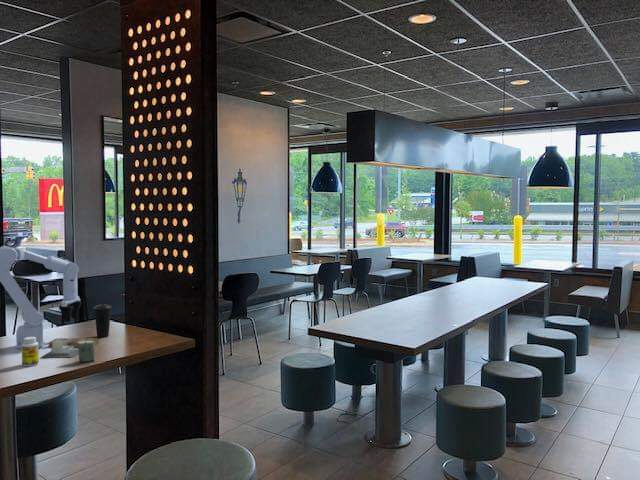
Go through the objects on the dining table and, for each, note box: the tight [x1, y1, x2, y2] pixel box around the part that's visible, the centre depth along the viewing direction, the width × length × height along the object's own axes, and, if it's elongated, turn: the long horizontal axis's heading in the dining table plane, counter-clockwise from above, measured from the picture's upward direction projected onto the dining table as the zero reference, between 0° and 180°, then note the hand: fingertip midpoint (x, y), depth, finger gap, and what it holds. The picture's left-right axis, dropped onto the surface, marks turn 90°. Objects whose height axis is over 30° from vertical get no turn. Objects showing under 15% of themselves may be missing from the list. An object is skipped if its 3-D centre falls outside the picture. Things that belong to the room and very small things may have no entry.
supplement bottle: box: [21, 337, 40, 367], centre depth 201 cm, size 6×6×10 cm
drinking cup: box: [93, 292, 112, 339], centre depth 244 cm, size 8×8×20 cm
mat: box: [41, 349, 79, 359], centre depth 215 cm, size 12×10×1 cm
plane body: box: [48, 337, 99, 348], centre depth 229 cm, size 18×7×2 cm, turn 93°
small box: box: [77, 341, 95, 363], centre depth 206 cm, size 6×5×8 cm
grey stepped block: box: [50, 340, 75, 355], centre depth 215 cm, size 7×4×5 cm, turn 93°
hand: (70, 319), depth 235 cm, fingers open, 7 cm apart
